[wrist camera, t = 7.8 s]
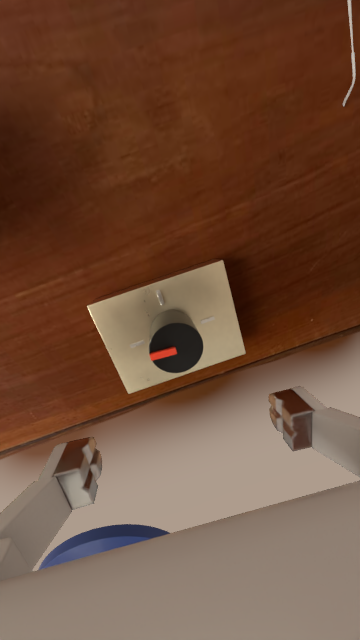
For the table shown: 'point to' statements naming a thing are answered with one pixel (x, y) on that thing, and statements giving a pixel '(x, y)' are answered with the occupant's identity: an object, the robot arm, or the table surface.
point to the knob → (174, 342)
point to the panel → (157, 297)
